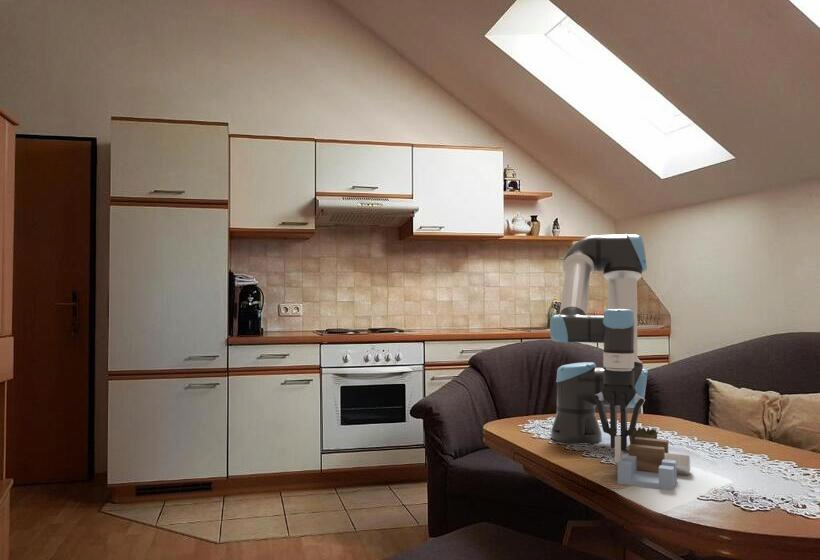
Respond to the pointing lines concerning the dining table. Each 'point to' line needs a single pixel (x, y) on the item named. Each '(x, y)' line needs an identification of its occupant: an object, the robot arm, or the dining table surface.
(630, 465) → the cradle
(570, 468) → the dining table surface
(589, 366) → the robot arm
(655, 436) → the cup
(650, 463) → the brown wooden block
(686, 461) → the white long block
